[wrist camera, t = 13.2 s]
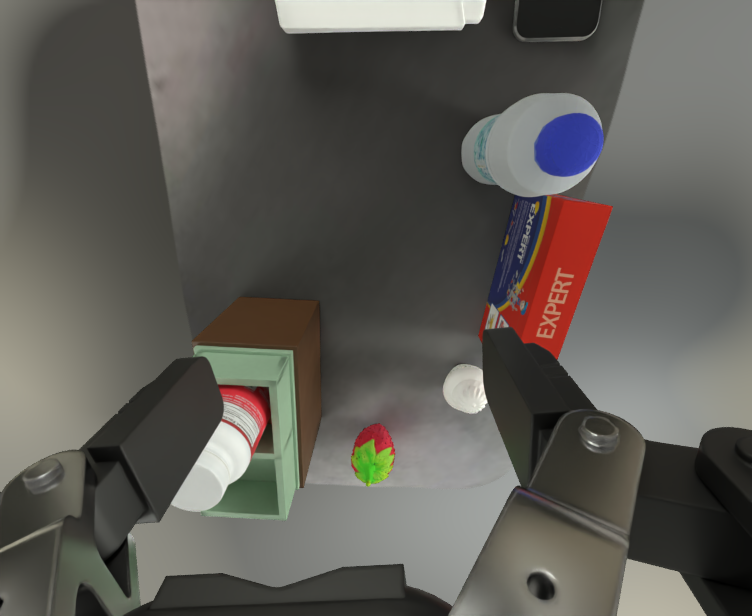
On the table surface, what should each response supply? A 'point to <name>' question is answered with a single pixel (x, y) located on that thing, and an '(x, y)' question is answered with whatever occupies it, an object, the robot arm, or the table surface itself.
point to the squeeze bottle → (377, 15)
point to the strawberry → (373, 455)
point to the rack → (287, 396)
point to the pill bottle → (226, 447)
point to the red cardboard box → (544, 267)
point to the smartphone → (555, 20)
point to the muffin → (465, 388)
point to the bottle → (535, 145)
